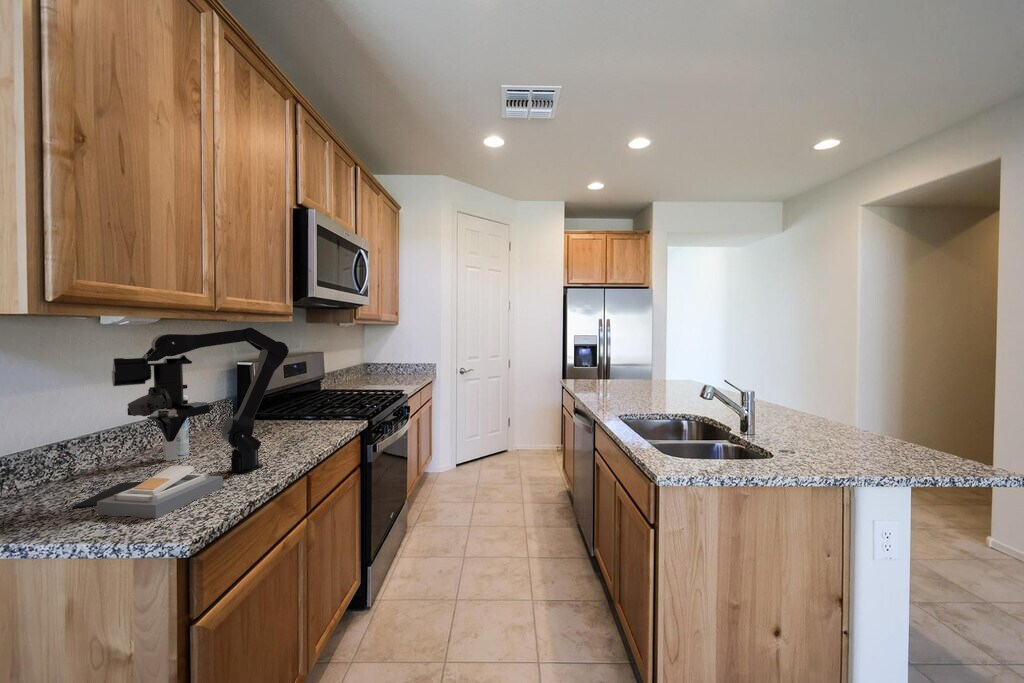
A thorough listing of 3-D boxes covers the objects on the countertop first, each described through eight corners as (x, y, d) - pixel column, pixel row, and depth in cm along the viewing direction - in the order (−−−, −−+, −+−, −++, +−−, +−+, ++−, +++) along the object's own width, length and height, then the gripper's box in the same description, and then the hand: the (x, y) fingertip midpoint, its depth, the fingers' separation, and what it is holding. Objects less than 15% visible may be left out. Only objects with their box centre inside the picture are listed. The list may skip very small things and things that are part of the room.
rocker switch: (173, 469, 100) (171, 464, 100) (194, 470, 99) (192, 465, 99) (131, 494, 90) (130, 489, 90) (154, 495, 90) (153, 490, 89)
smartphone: (150, 480, 106) (105, 504, 92) (150, 483, 106) (106, 508, 92) (119, 482, 105) (70, 507, 90) (119, 485, 105) (70, 510, 90)
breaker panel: (172, 485, 104) (172, 469, 104) (223, 487, 102) (222, 471, 102) (97, 515, 87) (96, 496, 87) (156, 518, 85) (155, 499, 85)
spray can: (182, 460, 124) (180, 397, 124) (158, 462, 123) (156, 398, 122) (193, 454, 131) (191, 394, 130) (170, 455, 129) (168, 395, 129)
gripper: (102, 386, 96) (104, 449, 96) (169, 387, 93) (171, 452, 94) (149, 380, 107) (151, 437, 107) (211, 381, 104) (212, 439, 105)
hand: (170, 441), depth 103 cm, fingers closed
